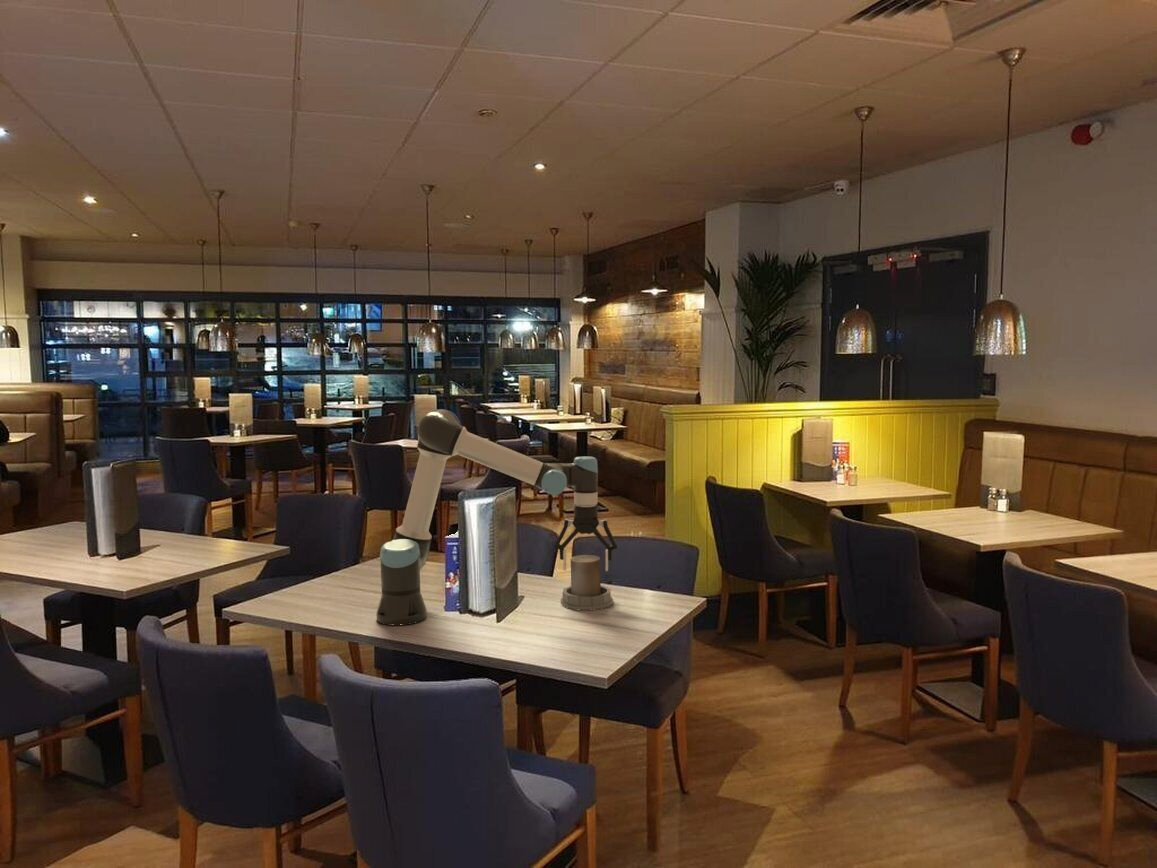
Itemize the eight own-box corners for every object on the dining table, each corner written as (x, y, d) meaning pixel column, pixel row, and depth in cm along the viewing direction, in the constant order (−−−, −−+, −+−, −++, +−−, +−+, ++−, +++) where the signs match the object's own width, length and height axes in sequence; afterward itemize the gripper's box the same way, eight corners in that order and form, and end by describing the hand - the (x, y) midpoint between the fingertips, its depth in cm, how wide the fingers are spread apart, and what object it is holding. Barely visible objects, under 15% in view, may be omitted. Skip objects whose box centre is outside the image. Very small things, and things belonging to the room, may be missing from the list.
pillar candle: (602, 595, 278) (601, 550, 277) (599, 604, 268) (598, 557, 267) (572, 595, 279) (571, 550, 278) (569, 603, 269) (568, 557, 268)
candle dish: (612, 610, 265) (612, 598, 264) (558, 610, 266) (558, 597, 265) (613, 595, 282) (613, 583, 281) (562, 595, 283) (562, 583, 282)
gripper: (624, 503, 274) (624, 567, 276) (548, 502, 275) (548, 566, 277) (624, 507, 266) (624, 573, 268) (546, 506, 268) (546, 572, 270)
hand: (585, 569), depth 273 cm, fingers open, 13 cm apart
